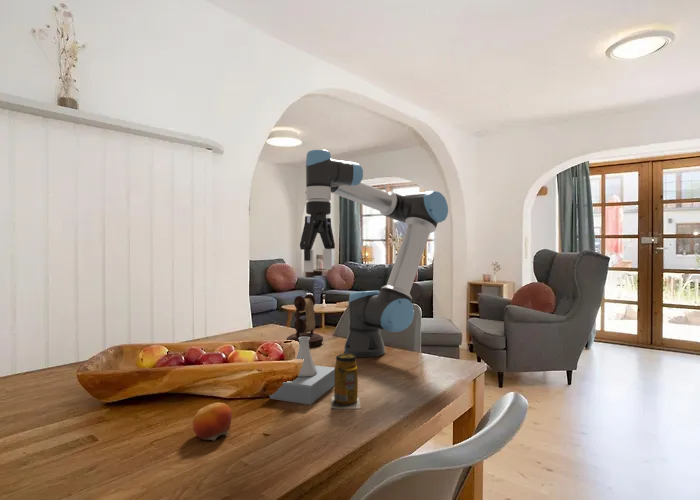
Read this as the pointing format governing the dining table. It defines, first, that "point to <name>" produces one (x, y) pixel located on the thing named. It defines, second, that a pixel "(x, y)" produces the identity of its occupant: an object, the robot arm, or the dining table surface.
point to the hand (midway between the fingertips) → (318, 270)
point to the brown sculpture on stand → (309, 323)
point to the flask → (305, 358)
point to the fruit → (212, 421)
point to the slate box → (307, 387)
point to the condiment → (345, 383)
